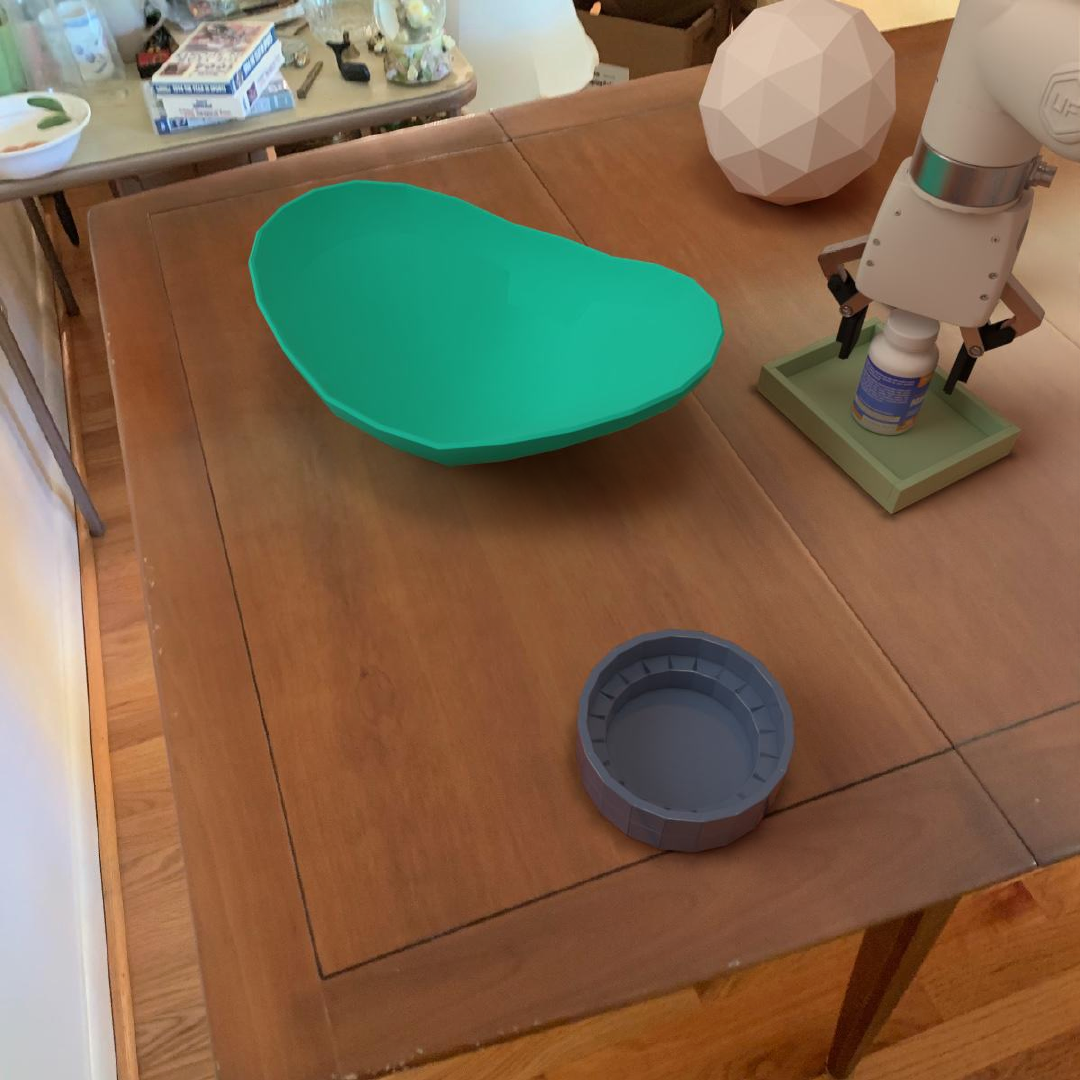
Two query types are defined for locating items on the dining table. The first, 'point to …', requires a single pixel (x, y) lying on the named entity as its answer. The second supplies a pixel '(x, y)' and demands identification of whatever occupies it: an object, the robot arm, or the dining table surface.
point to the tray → (875, 459)
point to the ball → (799, 100)
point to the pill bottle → (897, 373)
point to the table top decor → (472, 324)
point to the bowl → (683, 739)
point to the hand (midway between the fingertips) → (898, 365)
